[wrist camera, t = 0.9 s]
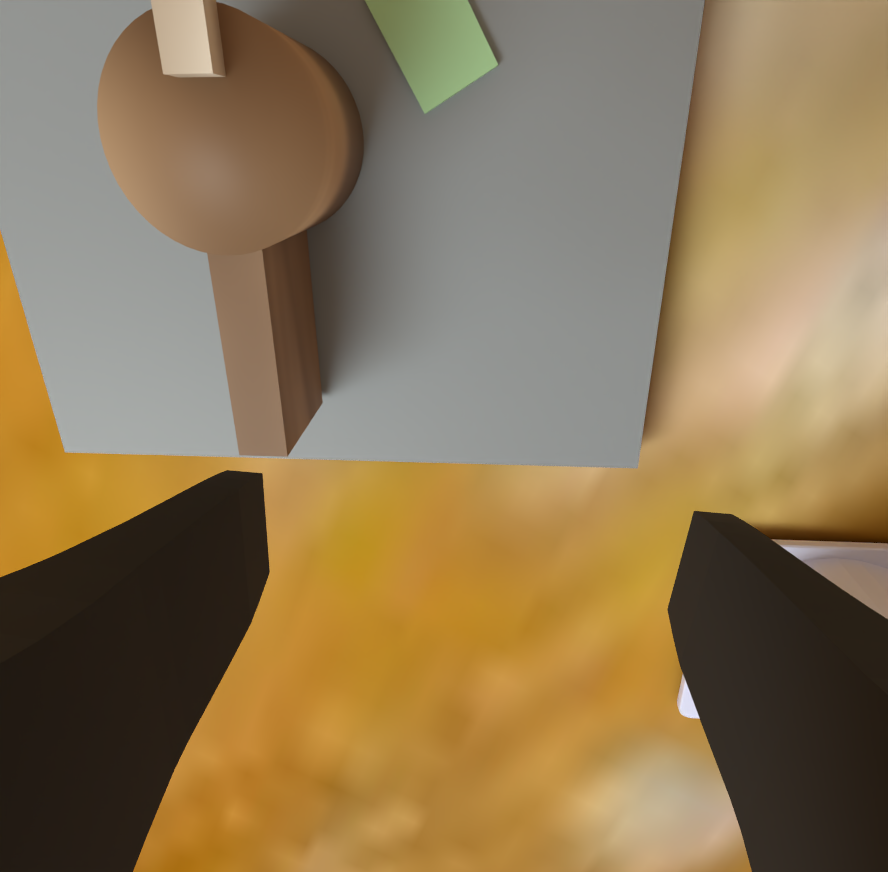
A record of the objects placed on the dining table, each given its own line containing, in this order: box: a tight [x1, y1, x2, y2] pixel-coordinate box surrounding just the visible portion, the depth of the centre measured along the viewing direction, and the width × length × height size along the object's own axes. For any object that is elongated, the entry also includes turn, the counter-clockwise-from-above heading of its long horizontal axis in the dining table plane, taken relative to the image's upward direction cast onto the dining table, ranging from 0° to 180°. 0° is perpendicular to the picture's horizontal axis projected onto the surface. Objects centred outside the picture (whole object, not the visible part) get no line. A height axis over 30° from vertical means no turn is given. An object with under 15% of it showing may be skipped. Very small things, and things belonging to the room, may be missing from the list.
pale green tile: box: [365, 0, 498, 114], centre depth 14 cm, size 2×3×1 cm
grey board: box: [0, 0, 705, 468], centre depth 17 cm, size 18×16×1 cm
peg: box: [97, 0, 364, 457], centre depth 14 cm, size 4×12×5 cm, turn 0°
